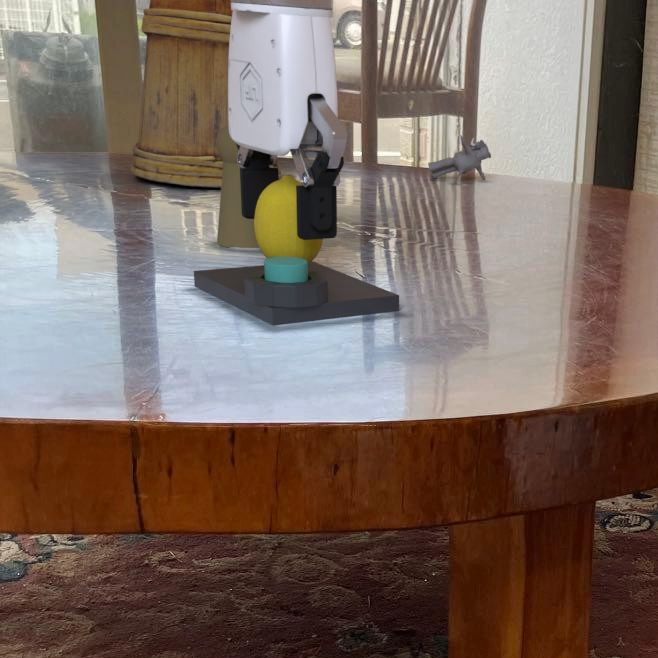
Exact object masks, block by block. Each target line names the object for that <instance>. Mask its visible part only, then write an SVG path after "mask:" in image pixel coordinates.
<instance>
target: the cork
mask: <svg viewBox="0 0 658 658" xmlns="http://www.w3.org/2000/svg"><path fill="white" fill-rule="evenodd" d="M216 148H217V151H218V154H219V156H220V157H221V159H222V160H223V172H222V185H221V188H220V199H219V210H218V211H219V212H218V226H217V236H216V237H217V239H216V244H217V245H218V246H221V247H223V248H224V247H225V248H239V249H240V248H241V249H242V248H243V249H260V247H259V245H258V243H257V239H256V235H255V228H254V219H247V218H244V217H243V216H242V207H241V183H240V168H245V167H239V165H238V162H237V154H238V151H239V150H238V148H237V145H236V143H235V142H234V141H233V139H232V138H231V136H230V134H229V126H226V127H223V128H222V129H220V131H219V132H218V134H217V138H216Z"/></svg>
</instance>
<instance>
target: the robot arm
mask: <svg viewBox="0 0 658 658" xmlns="http://www.w3.org/2000/svg"><path fill="white" fill-rule="evenodd" d="M231 2H232V3H231V10H233V14H232V20H231V29H230V40H229V61H228V120H229V134H230V136H231V138H232V139H233V141H234V142H235V143H236V145H237V148H238V150H239V151H238V154H237V162H238V165H239V167H245V168H240V183H241V207H242V216H243V217H244V218H247V219H254V218H255V210H256V205H257V201H258V199H259V196H260V195H261V193H262V192H263V190H264V189H265V188H266V187H267V186H268V185H270V184H271V183H273V182H275V181H277V180H280V177H279V175H280V174H279V172H278V168H276V167H274V168H270V167H272V166H273V164H274V161H275V159H276V156H278V157H285V156H288V154H289V153H290V155H291V157H292V160H293V163H294V165H295V169H296V171H297V174H298V177H299V181H300V182H301V183H302V185H297V186H296V203H297V236H298V237H299V238H300V239H303V240H313V239H323V240H327V239H328V240H329V239H335V238H336V237H337V235H338V202H337V201H338V200H337V199H338V198H337V197H338V192H337V191H338V189H337V187H338V186H340V184H341V176H340V175H341V174H340V173H341V171H342V169H343V167H344V165H345V160H344V155H345V150H346V148H347V143H348V140H349V132H348V130H347V128H346V127H345V125H344V124H343V123H342V122H341V120H340V119H339V108H338V107H339V105H338V104H339V103H338V102H339V101H338V82H337V66H336V54H335V46H334V35H333V29H332V23H331V22H332V21H331V19H333V18H334V0H231ZM309 160H313V162H312V164H311V163H310V161H309Z"/></svg>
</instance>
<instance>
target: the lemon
mask: <svg viewBox="0 0 658 658" xmlns="http://www.w3.org/2000/svg"><path fill="white" fill-rule="evenodd" d="M297 185H302V183H301V181H300V180H297V179H296V177H294V176H293V175H292V174H284V175H282V177H281V178H279V180H277V181H275V182H273V183H271V184H270V185H268V186H267V187H266V188H265V189H264V190H263V192H262V193H261V195H260V196H259V199H258V201H257V205H256V210H255V218H254V228H255V235H256V239H257V243H258V245H259V247H260V248H259V250H260V251H261V253H262V254H263V256H264V257H265V259H267V258H272V257H296V258H302V259H305V260H307V262H308V264H309V263H310V262H312V261H314V260H315V259H316V258H317V257H318V256H319V253H320V252H321V249H322V247H323V243H324V239H313V240H303V239H300V238H299V237H298V236H297V203H296V186H297Z"/></svg>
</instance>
